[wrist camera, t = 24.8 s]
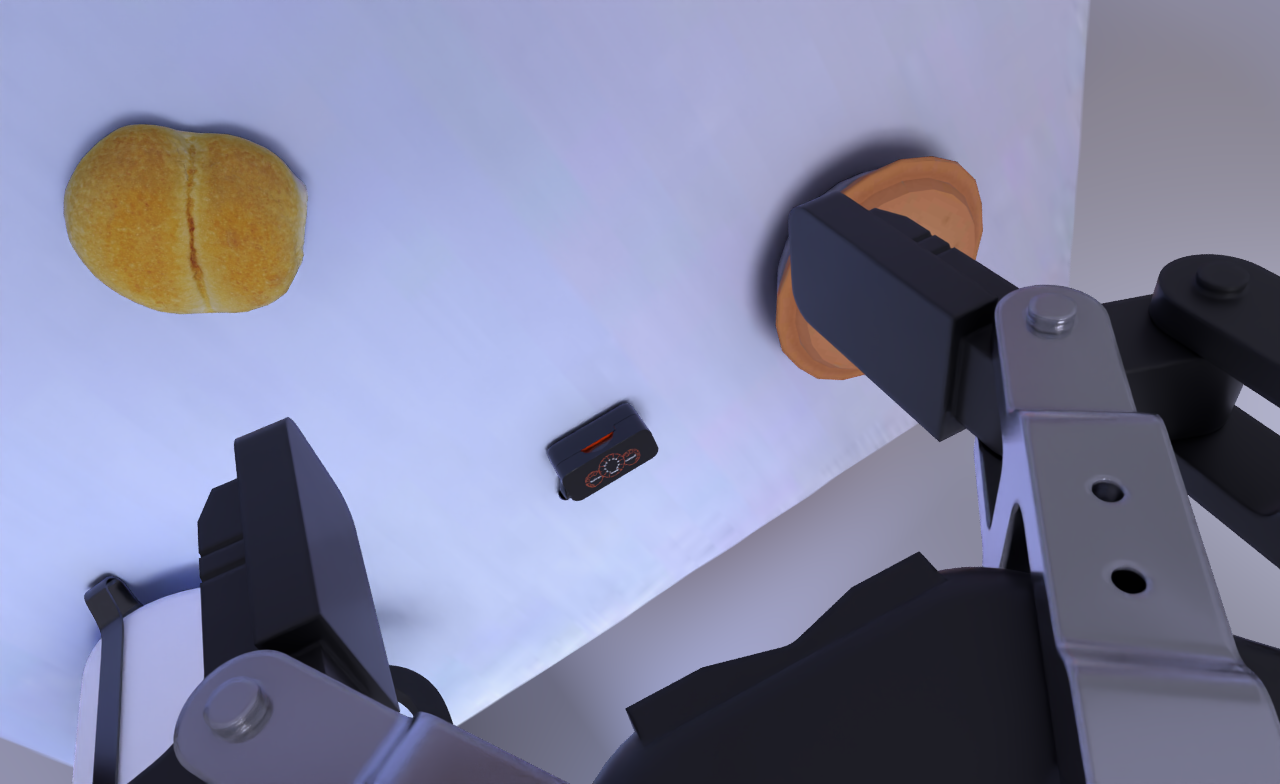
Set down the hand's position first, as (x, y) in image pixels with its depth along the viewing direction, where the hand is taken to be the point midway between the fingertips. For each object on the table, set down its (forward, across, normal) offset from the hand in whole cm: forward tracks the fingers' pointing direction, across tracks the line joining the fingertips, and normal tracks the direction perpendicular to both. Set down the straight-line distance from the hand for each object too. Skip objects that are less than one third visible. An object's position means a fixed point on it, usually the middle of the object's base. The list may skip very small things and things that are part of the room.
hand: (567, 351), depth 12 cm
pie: (+28, -25, +24) cm, 45 cm away
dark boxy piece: (+28, -4, +30) cm, 42 cm away
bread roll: (+28, +9, +7) cm, 30 cm away
